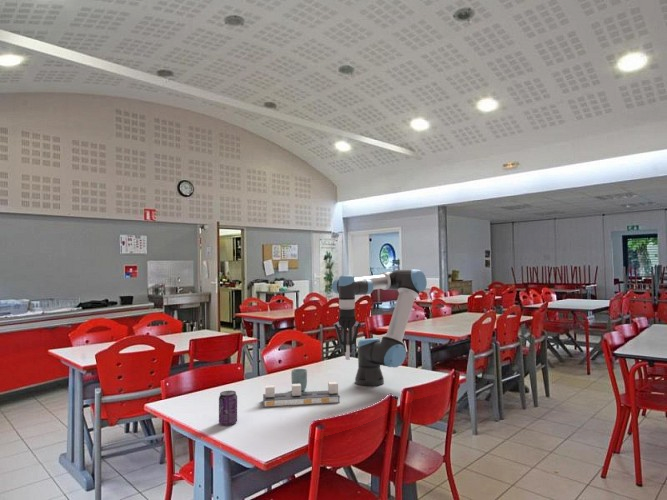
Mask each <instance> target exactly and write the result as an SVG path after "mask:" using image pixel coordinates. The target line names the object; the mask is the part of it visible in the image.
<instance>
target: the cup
mask: <svg viewBox="0 0 667 500" xmlns="http://www.w3.org/2000/svg"><path fill="white" fill-rule="evenodd" d="M307 370H308V369H306V368H295V369H294V368H293V369H292V370H291V374H290V375H291V385H292V384H301V392H305V390H306V389H307V385H308V371H307Z"/></svg>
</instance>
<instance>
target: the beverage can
mask: <svg viewBox="0 0 667 500" xmlns="http://www.w3.org/2000/svg"><path fill="white" fill-rule="evenodd" d="M219 393H220V394H219V397H218V424H220V425H222V426H232V425H235V424H236V423H238V395H237V391H236V390H223V391H221V392H219Z"/></svg>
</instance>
